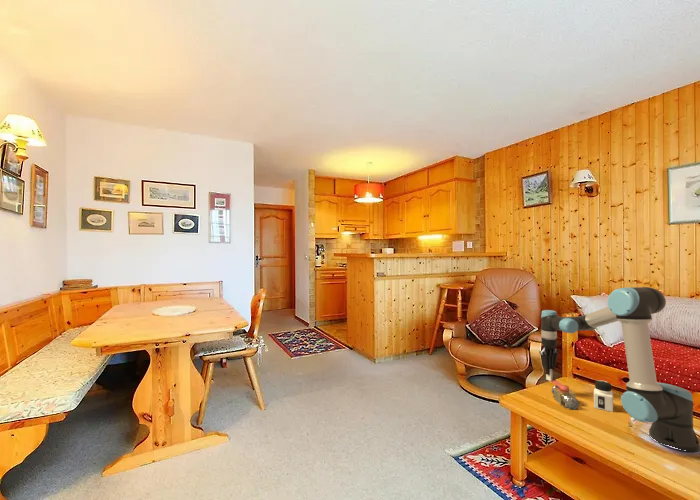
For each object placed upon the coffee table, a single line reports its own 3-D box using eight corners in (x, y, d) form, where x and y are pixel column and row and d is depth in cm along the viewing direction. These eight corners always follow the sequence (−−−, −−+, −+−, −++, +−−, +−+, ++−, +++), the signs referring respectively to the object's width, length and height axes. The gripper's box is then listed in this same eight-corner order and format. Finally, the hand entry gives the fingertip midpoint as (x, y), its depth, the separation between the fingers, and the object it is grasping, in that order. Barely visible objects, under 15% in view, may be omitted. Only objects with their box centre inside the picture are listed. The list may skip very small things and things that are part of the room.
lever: (570, 391, 173) (570, 383, 173) (563, 391, 173) (562, 383, 173) (553, 380, 189) (552, 372, 189) (545, 380, 189) (545, 372, 189)
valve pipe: (580, 410, 166) (579, 397, 167) (565, 409, 168) (564, 396, 168) (564, 396, 182) (564, 384, 182) (550, 395, 183) (550, 384, 183)
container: (613, 412, 164) (612, 386, 164) (593, 408, 169) (593, 382, 169) (612, 406, 170) (612, 381, 170) (594, 402, 175) (593, 378, 175)
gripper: (547, 340, 180) (547, 384, 179) (563, 338, 185) (563, 380, 184) (534, 337, 187) (535, 379, 186) (551, 335, 192) (551, 376, 191)
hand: (549, 380), depth 185 cm, fingers closed
